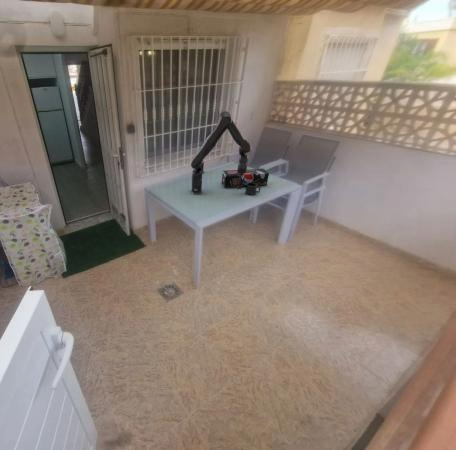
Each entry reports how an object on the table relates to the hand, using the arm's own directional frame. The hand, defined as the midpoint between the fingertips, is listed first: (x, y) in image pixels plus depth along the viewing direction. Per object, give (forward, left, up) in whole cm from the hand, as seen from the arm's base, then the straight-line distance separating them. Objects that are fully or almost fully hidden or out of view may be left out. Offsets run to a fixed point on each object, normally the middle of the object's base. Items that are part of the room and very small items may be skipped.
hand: (239, 185), depth 221 cm
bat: (0, 0, -3) cm, 3 cm away
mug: (+4, +11, -7) cm, 14 cm away
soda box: (-17, +14, -8) cm, 23 cm away
